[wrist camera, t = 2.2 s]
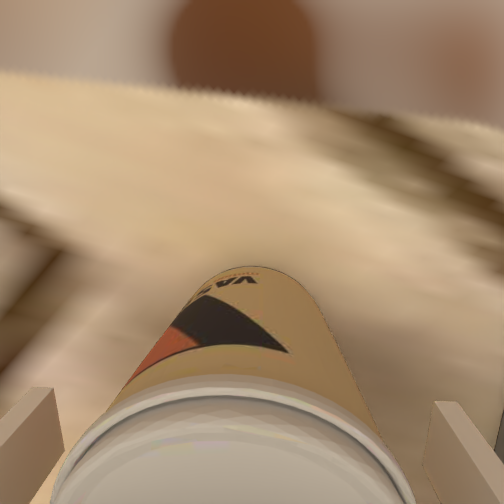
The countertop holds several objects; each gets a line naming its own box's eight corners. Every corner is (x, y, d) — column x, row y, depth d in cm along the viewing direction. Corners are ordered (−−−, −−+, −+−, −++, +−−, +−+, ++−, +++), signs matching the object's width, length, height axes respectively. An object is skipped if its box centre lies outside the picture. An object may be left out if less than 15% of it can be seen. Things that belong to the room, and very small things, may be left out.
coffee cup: (255, 213, 18) (230, 320, 6) (372, 336, 20) (521, 602, 8) (135, 325, 20) (-48, 560, 8) (250, 429, 22) (227, 749, 10)
